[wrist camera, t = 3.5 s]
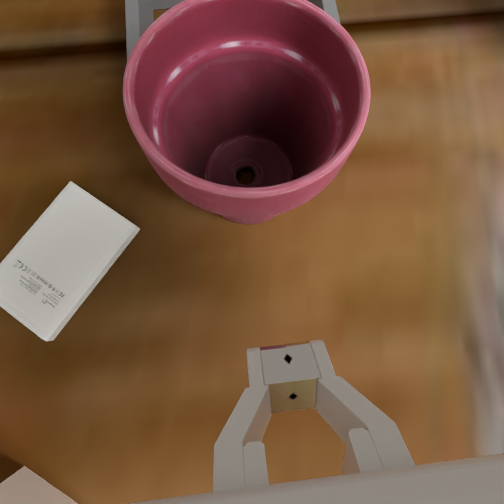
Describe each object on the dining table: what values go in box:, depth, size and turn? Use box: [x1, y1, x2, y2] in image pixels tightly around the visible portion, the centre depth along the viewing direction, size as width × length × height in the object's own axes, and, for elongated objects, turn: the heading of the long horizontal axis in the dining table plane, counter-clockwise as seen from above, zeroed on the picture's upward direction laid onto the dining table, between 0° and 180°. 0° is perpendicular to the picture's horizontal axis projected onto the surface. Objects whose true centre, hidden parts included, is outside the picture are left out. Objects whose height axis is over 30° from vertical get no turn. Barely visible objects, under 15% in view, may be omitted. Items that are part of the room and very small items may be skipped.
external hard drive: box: [0, 181, 140, 341], centre depth 27 cm, size 2×8×12 cm
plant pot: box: [123, 0, 371, 224], centre depth 23 cm, size 14×14×13 cm
